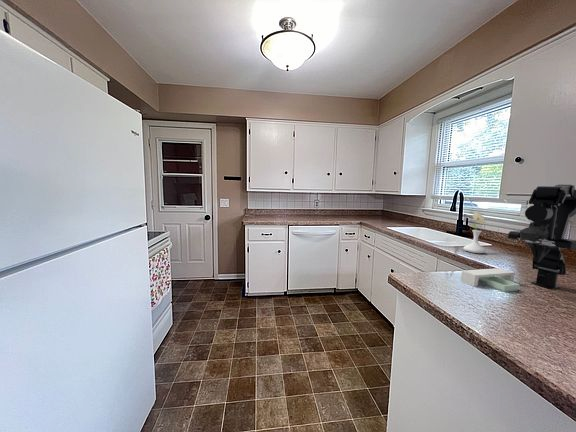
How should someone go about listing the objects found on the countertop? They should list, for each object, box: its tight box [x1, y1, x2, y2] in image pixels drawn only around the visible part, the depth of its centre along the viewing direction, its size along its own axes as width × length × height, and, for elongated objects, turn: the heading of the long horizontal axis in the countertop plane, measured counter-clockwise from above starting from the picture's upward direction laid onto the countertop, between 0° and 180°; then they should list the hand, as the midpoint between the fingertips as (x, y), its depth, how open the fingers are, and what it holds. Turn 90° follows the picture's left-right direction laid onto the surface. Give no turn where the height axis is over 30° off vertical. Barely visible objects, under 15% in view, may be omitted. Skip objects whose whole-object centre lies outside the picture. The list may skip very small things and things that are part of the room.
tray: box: [479, 276, 520, 293], centre depth 99 cm, size 8×11×2 cm
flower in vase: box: [463, 212, 487, 254], centre depth 155 cm, size 13×11×25 cm
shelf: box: [460, 267, 516, 287], centre depth 103 cm, size 22×6×5 cm, turn 106°
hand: (537, 261), depth 93 cm, fingers closed
